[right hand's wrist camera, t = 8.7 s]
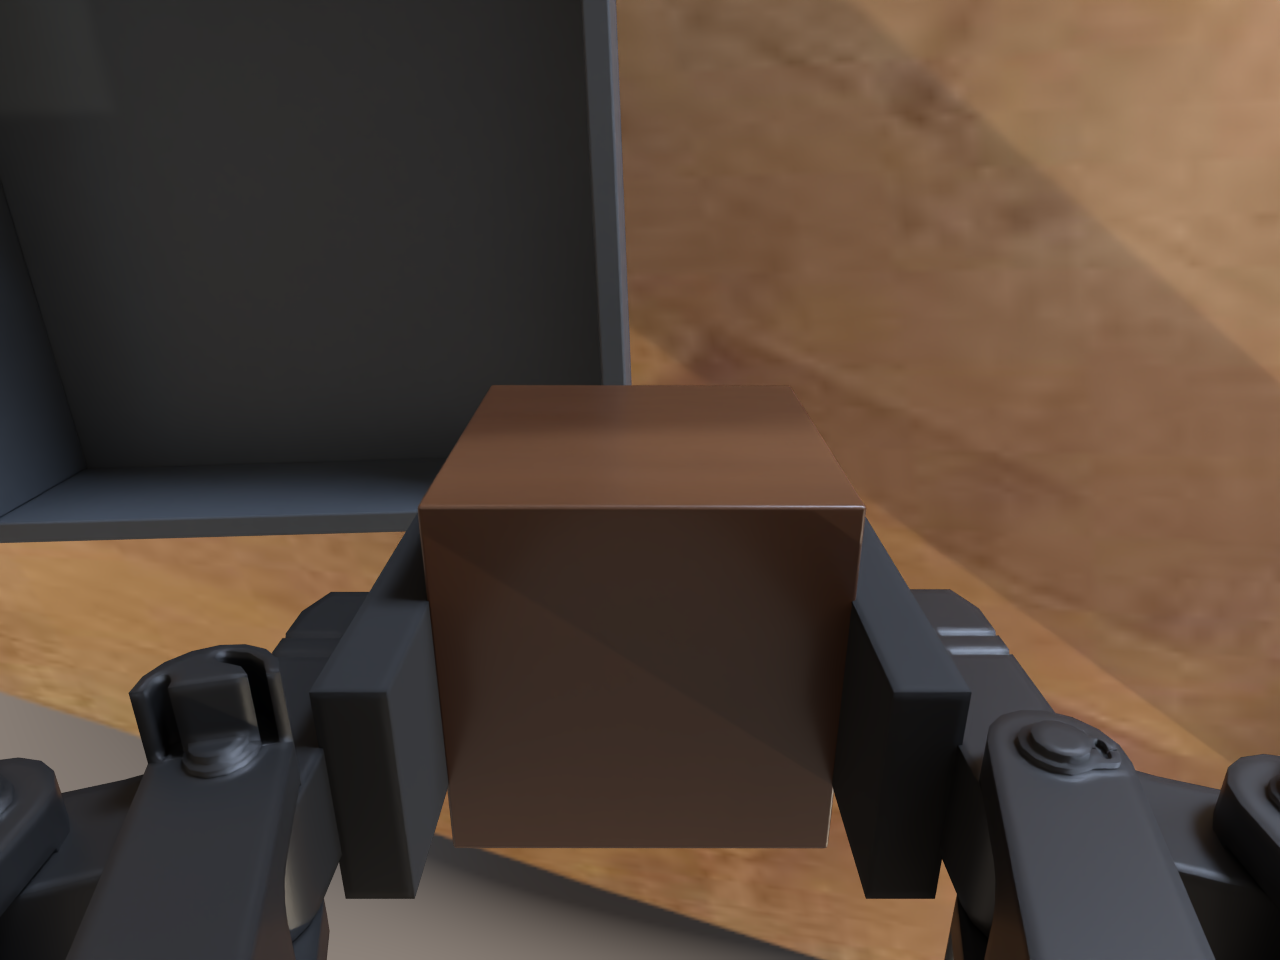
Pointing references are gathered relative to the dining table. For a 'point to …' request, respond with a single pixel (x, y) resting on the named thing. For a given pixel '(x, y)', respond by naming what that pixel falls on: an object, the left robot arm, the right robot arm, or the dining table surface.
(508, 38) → the grey tray
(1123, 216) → the dining table surface
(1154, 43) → the dining table surface
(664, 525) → the walnut cube
